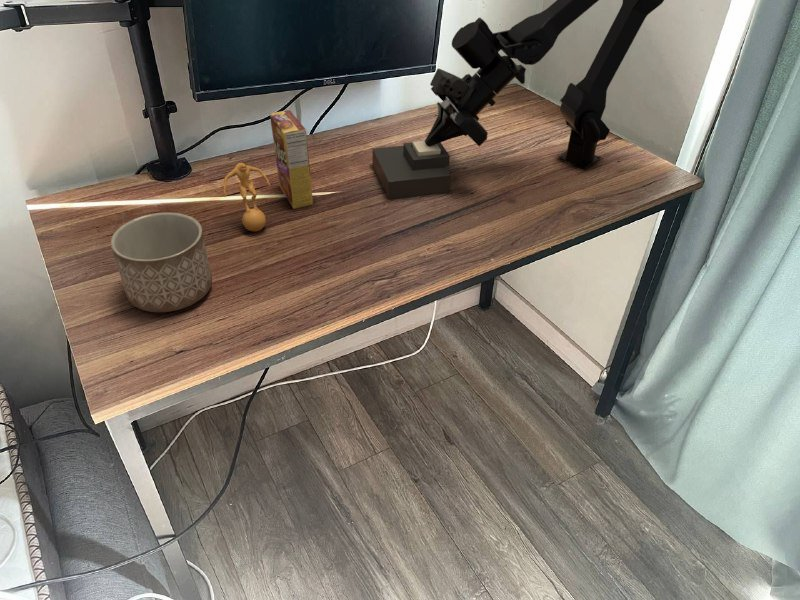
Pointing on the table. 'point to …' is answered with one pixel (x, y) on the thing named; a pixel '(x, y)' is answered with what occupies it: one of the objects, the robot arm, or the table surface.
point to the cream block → (425, 149)
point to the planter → (162, 261)
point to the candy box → (292, 158)
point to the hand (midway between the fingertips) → (426, 144)
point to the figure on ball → (251, 217)
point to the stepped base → (411, 171)
